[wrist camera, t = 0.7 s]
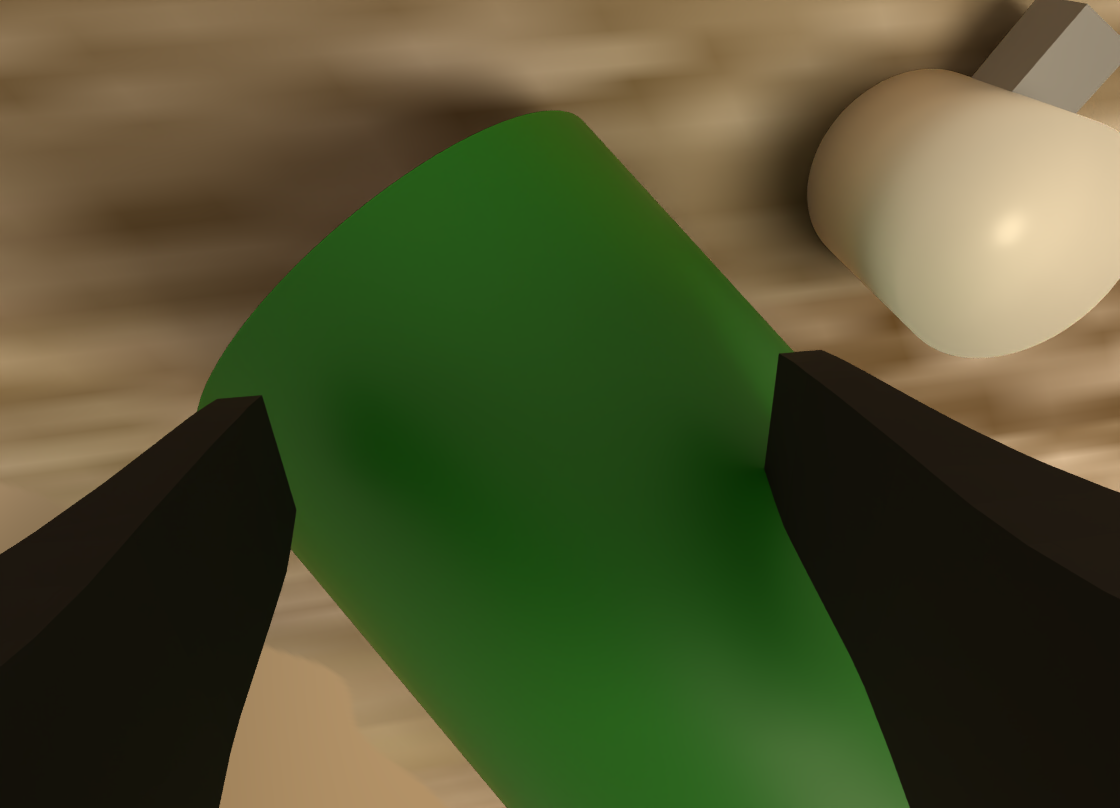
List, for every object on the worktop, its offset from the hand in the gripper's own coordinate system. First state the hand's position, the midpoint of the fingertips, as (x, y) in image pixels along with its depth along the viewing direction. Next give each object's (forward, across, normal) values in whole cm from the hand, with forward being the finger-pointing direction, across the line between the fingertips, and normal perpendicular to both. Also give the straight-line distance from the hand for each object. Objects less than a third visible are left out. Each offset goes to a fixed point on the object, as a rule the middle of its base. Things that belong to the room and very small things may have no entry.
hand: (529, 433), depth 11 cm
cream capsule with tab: (+10, -10, 0) cm, 14 cm away
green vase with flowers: (+6, +2, 0) cm, 7 cm away
